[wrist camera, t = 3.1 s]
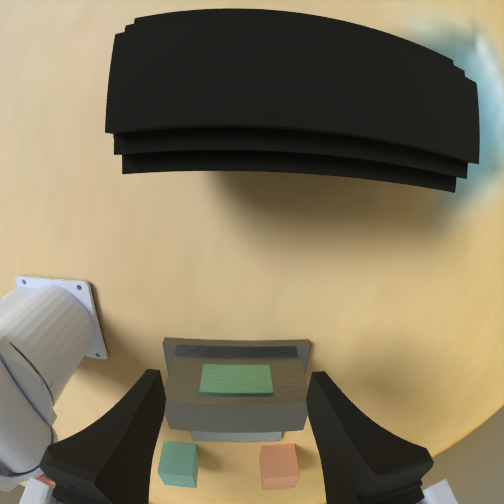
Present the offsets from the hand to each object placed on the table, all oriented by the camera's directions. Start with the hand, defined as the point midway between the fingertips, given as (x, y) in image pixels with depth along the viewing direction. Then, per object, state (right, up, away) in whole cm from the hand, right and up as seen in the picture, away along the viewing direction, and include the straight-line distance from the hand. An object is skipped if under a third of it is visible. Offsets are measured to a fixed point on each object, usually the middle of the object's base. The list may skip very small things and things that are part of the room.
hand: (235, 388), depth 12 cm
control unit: (-1, -3, +11) cm, 11 cm away
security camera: (+4, +15, +5) cm, 17 cm away
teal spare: (-8, -19, +16) cm, 26 cm away
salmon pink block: (+4, -19, +16) cm, 25 cm away
